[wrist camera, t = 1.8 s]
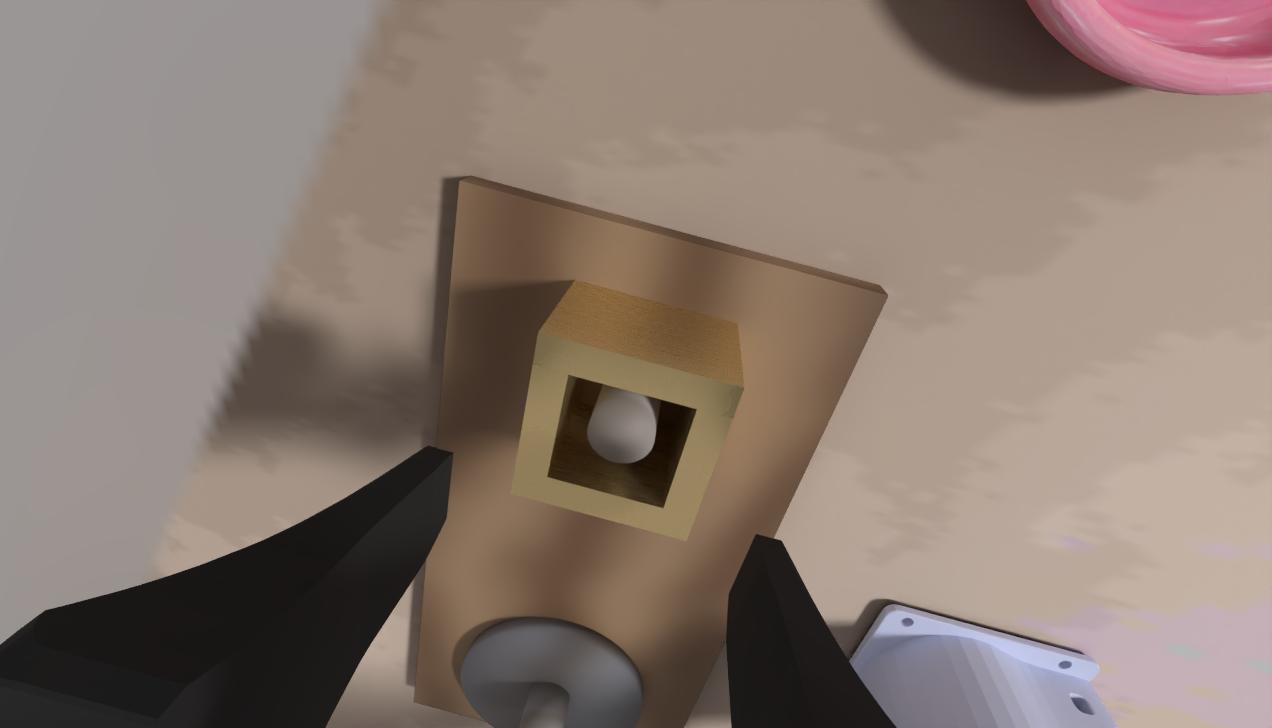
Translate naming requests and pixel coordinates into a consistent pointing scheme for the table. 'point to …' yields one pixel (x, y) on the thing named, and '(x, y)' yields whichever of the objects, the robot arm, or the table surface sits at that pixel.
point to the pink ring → (1169, 41)
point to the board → (585, 546)
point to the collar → (638, 362)
